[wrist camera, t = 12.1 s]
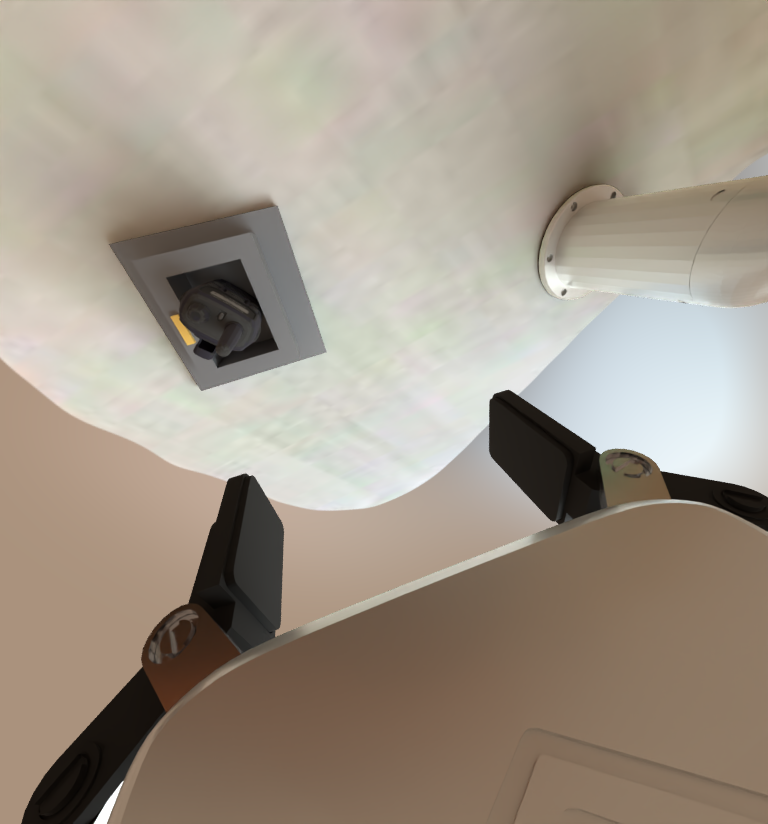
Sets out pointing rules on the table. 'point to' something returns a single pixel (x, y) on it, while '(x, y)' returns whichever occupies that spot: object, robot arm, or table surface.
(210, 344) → the two-way radio
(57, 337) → the table surface
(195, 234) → the charging dock
